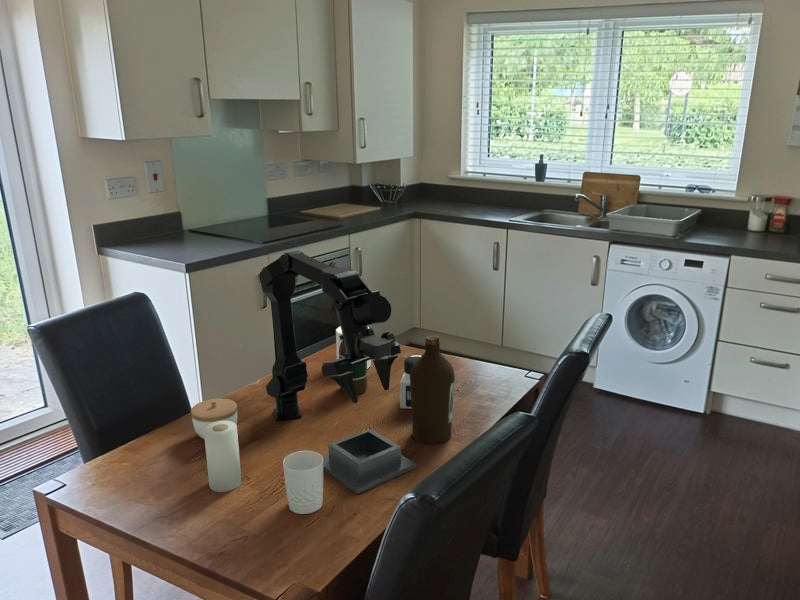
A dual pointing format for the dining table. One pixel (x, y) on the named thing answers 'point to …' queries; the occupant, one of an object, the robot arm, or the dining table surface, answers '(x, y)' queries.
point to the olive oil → (432, 394)
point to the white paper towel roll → (222, 456)
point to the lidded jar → (212, 413)
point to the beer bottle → (356, 372)
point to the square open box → (365, 460)
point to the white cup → (304, 481)
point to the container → (407, 382)
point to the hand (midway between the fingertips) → (371, 396)
